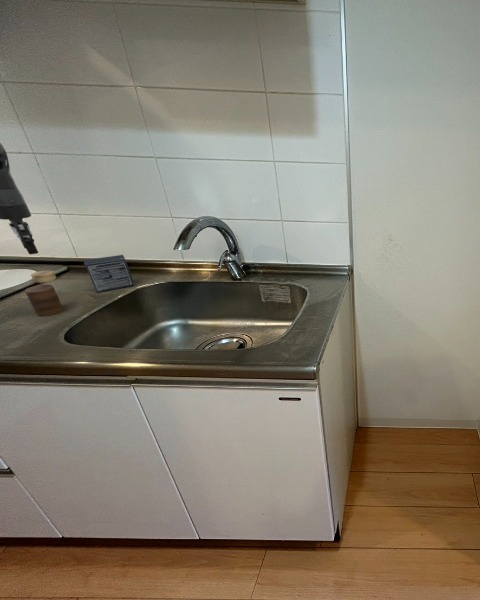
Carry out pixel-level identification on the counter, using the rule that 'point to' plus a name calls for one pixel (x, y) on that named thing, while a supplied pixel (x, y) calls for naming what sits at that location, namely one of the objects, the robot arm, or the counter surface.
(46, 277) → the beige short cylinder
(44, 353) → the counter surface
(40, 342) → the counter surface
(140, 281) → the counter surface
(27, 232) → the robot arm
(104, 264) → the small box
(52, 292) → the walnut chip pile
